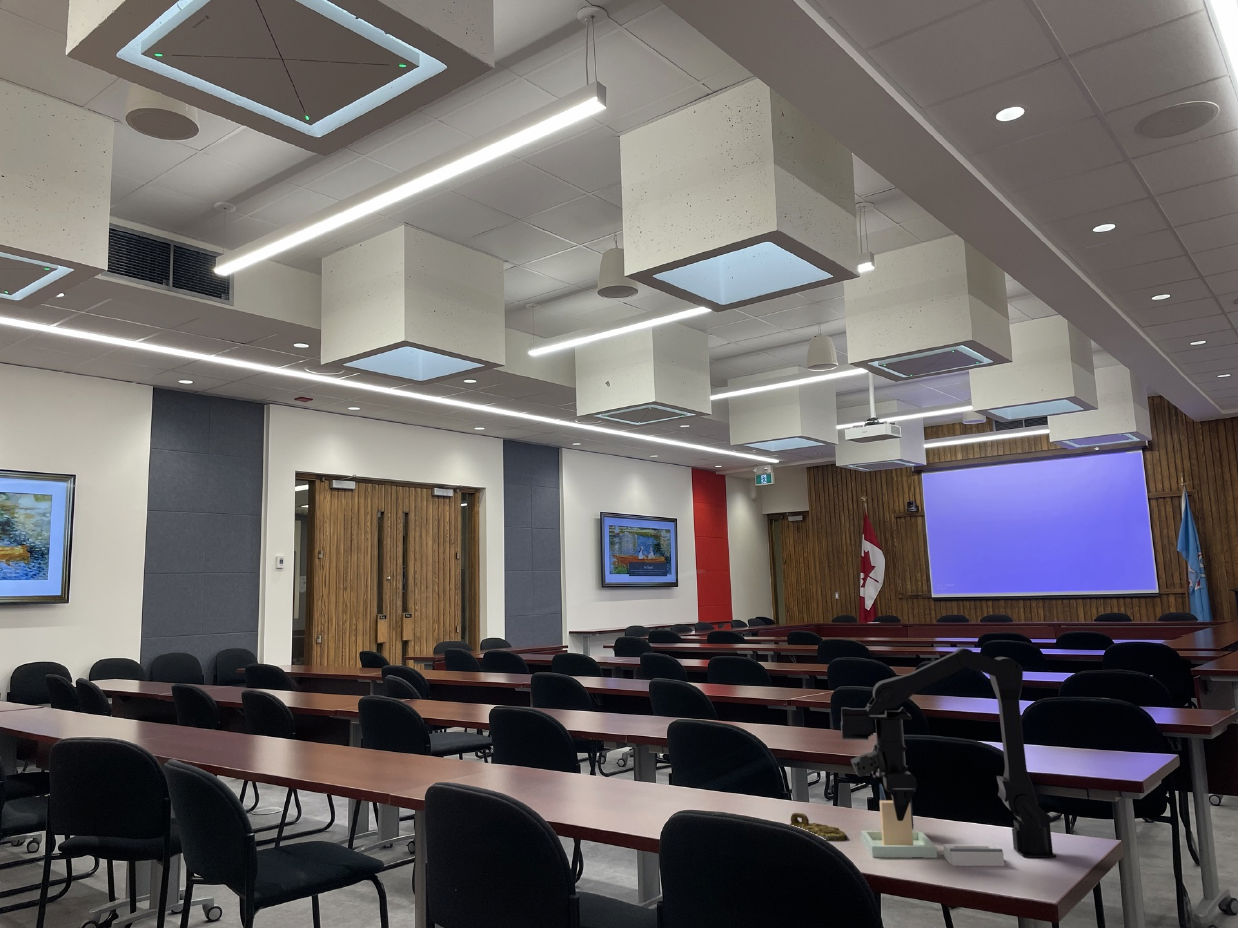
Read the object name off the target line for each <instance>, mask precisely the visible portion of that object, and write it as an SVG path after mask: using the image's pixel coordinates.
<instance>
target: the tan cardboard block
mask: <svg viewBox="0 0 1238 928" xmlns="http://www.w3.org/2000/svg"><path fill="white" fill-rule="evenodd" d="M878 801H879V812H880V813H879V815H880V829H881V830H880V831H881V832H882V845H913V833H912V831H913V830H912V819H911V806H910V803H909V806H908V808H907V811H906V814H905V816H904V819H903V821H898V820H897V817H896V813H895V809H894V804H893V801H882V800H880V799H879V800H878Z"/></svg>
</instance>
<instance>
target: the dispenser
mask: <svg viewBox="0 0 1238 928" xmlns="http://www.w3.org/2000/svg"><path fill="white" fill-rule="evenodd" d="M942 846H943V847H942V849H943V858H945V860H946V861H947V862H948V863H949V864H950V865H951V866H954V867H955V866H957V867H958V866H960V867H1005V857H1004V855H1005V854H1004V852H1003V849H1002V848H998V847H997V846H996V845H995V844H990V843H988V844H986V843H983V844H981V843H979V844H977V843H976V844H975V843H973V844H972V843H971V844H970V843H969V844H967V843H943V844H942Z"/></svg>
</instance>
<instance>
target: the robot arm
mask: <svg viewBox="0 0 1238 928" xmlns="http://www.w3.org/2000/svg"><path fill="white" fill-rule="evenodd" d="M968 668H969V669H972V670H975V671H978V672H981V673H984V674H986V675H988V676H989V679H990V683H991V686H992V689H993V691H994V694H995V696H996V699H997V704H998V713H999V714H998V715H999V722H1000V731H1001V732H1000V733H1001V740H1002V749H1003V759H1004V771H1003V776H1000V775H996V780H997V781H996V782H997V784H998V793H997V795H998V797H999V798H1000V799H1001V800H1002V802H1003V804H1004V805H1005V807H1007V809H1009V811H1011V812H1012V813H1013V815H1014V817H1015V818H1017V819H1013V827H1012V828H1011V833H1012V844H1013V845H1012V846H1013V850H1014V851H1016V852H1017V853H1018V854H1020V855H1021V856H1022V857H1024V858H1057V854H1056V853H1054V851H1053V842H1052V831H1051V830H1052V829H1051V820H1052V816H1050V814H1048V813H1047V812H1046V811H1045V810H1044V809H1043V808H1042V807H1041V806H1040V805H1039V803H1038V798H1037V795H1036V794H1037V793H1036V792H1035V788H1034V785H1033V783H1032V781H1031V777H1030V775H1029V773H1028V769H1027V760H1026V752H1025V743H1024V742H1025V741H1024V735H1023V733H1024V732H1023V725H1022V716H1021V715H1022V714H1021V707H1020V700H1021V695H1022V689H1023V678H1024V671H1023V667H1022V665H1021V664H1020V663H1019V662H1017V660H1015V659H1012V658H1009V657H1007V656H1006V657H1004V656H997V657H995V658H994V657H991V656H987V655H984V654H982V653H978V652H975V651H972V650H971V649H969V648H966V647H960V648H957V649H956V650H954V651H953V652H952V653H949V654H947V655H945V656H944V657H941V658H939V659H937V660H935V661H932V662H930V663H929V664H926V665H924V666H922V667H920V668H919V669H916V670H914V671H912V672H910V673H906V674H903V675H899V676H898V675H897V676H894V677H891V678H887V679H883V680H880V681H878V682H876V683H875V685H874V686H873V689H872V697H871V699H870V700H869V701H868V703H867V704H866V706H865V708H850V707H841V709H840V710H841V711H840V713H841V714H840V715H841V721H840V729H841V731H840V732H841V739H842V741H844V740H845V741H846V740H847V741H849V740H851V741H855V740H856V741H857V740H858V741H868V740H869V738H870V737H871V736H874V721H875V736H876V742H875V743H874V745H873V751H870V752H866V753H864V754H863V753H862V754H861V755H859V756H856V757H853V758H851V759H850V762H851V765H852V767H853V770H854V772H855V774H856V775H857V776H858V777H859V778H860V777H864V776H866V775H867V774H869V773H871V774H872V777H873V778H874V779H875V780H876V781H877V782H878V783H879V785H880V784H881V787H882V790H883V794H884V797H885V801H893V804H894V809H895V813H896V817H897V820H898V821H903V819H904V816H905V814H906V811H907V808H908V806H909V803H910V801H911V799H912V798H913V796H914V793H915V792H916V789H918V781H917V778H916V777H915V776H914V775H913V774H912V773H911V772H909V766H908V765H906V753H907V752H908V749H907V748H908V747H907V746H906V745H905V738H904V726H903V722H904V721H903V720H912V715H911V714H909V713H908V712H907V711H906V709H905V708H904V707H903V706H901V705H902V704H904V703H905V702H906V701H908V700H909V699H910V698H911V697H912V696H913V695H914V694H916V693H917V692H918V691H919V690H922V689H925V688H926V687H928V686H931V685H932V684H934V683H937V682H939V681H941V680H943V679H945V678H947V677H950V676H951V675H954V674H955V673H958V672H959V671H962V670H964V669H968ZM899 706H901V707H900V708H899V709H898V710H894V709H896V708H898V707H899ZM884 710H885V711H884ZM882 712H884V714H880V713H882ZM873 720H874V721H873ZM905 752H906V753H905Z"/></svg>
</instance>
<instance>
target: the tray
mask: <svg viewBox="0 0 1238 928" xmlns="http://www.w3.org/2000/svg"><path fill="white" fill-rule="evenodd" d="M912 833H913V845H882V832H881V830H860V837H861V842H862V844H863V843H864V844H863V845H864V847H865V848H866V849H867V851H868V852H869V854H870V856H871V857H872V858H912V857H923V858H922V859H924V858H926V859H927V858H930V859H931V858H932V859H933V858H934V859H935V858H936V859H937V858H938V849H937V846H936V845H935V844H934V843H933V841H932V840H930V839H929V837H928V836H927V835H926V834H924V832H922V830H912Z"/></svg>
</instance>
